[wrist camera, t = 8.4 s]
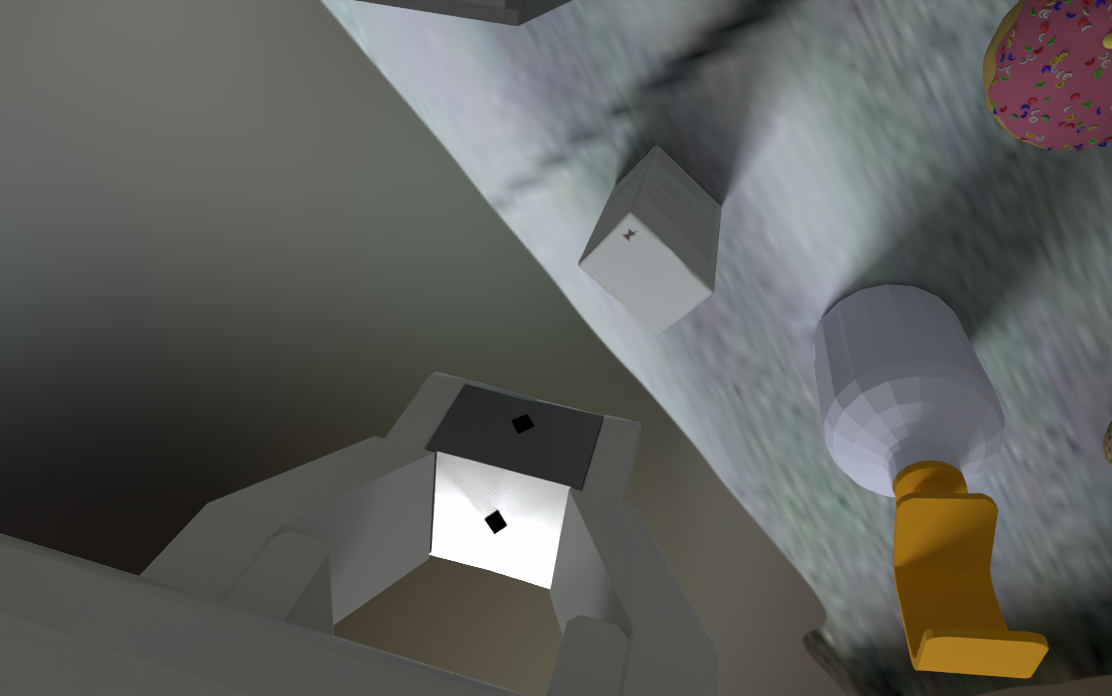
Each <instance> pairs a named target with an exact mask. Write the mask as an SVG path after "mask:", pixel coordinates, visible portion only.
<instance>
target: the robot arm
mask: <svg viewBox="0 0 1112 696" xmlns="http://www.w3.org/2000/svg"><path fill="white" fill-rule="evenodd" d="M640 430H641V426H640V423H639V422H635V421H630V420H626V419H621V418H617V417H612V416H608V415H605V417H604V416H602V415H598V414H594V413H590V412H586V411H582V410H578V409H574V408H569V407H566V406H561V405H557V404H554V403H550V402H545V401H541V400H537V399H536V398H532V397H528V396H525V395H521V394H517V393H514V392H510V391H507V390H503V389H499V388H496V387H492V386H488V385H485V384H481V383H477V382H474V381H468V380H466V379H462V378H458V377H454V376H450V375H446V374H442V373H438V372H436V373H434V374H432V375H430V376H429V377H428V378H427V380H426V381H425V383H424V384H423V386H422V387H421V388H420V390H419V391H418V393H417V394H416V395H415V397H414V398H413V400H412V401H411V402H410V404H409V405H408V407H407V408H406V409H405V411H404V412H403V414H402V415H401V416H400V418H399V419H398V421H397V422H396V424H395V425H394V426H393V428H392V429H391V430H390V432H389V433H388V435H387V436H386V438H385V439H383V438H379V437H375V436H374V437H372V438H369V439H367V440H364V441H362V442H359V443H357V444H354V445H352V446H350V447H347V448H344V449H342V450H339V451H337V452H334V453H332V454H329V455H327V456H325V457H322V458H319V459H317V460H314V461H312V462H310V463H307V464H305V465H302V466H300V467H297V468H295V469H292V470H290V471H287V472H285V473H282V474H280V475H277V476H275V477H273V478H270V479H267V480H265V481H262V482H260V483H258V484H255V485H252V486H250V487H247V488H245V489H242V490H240V491H238V492H235V493H232V494H230V495H228V496H225V497H223V498H220V499H218V500H215V501H213V502H210V503H208V504H207V505H206V506H205V507H204V508H203V509H202V510H201V511H200V512H199V513H198V514H197V515H196V516H195V517H194V519H193V520H192V521H191V522H190V523H189V524H188V525H187V526H186V527H185V528H184V529H183V530H182V531H181V532H180V533H179V534H178V535H177V537H176V538H175V539H174V540H173V541H172V542H171V543H170V544H169V545H168V546H167V547H166V548H165V549H164V550H163V552H162V553H161V554H160V555H159V556H158V557H157V558H156V559H155V560H154V561H153V562H152V563H151V564H150V565H149V566H148V568H146V570H145V571H144V572H143V573H142V574H141V575H140V576H136V575H133V574H130V573H127V572H123V571H120V570H117V569H114V568H110V567H107V566H104V565H101V564H97V563H94V562H90V561H87V560H84V559H81V558H78V557H74V556H71V555H68V554H65V553H61V552H58V551H54V550H51V549H48V548H45V547H41V546H38V545H35V544H32V543H29V542H25V541H22V540H19V539H16V538H12V537H9V536H6V535H3V534H0V696H528V695H525V694H522V693H518V692H515V691H512V690H508V689H505V688H502V687H499V686H495V685H492V684H489V683H486V682H483V681H479V680H476V679H472V678H469V677H466V676H463V675H460V674H456V673H453V672H450V671H447V670H443V669H440V668H437V667H433V666H430V665H427V664H424V663H420V662H417V661H414V660H410V659H407V658H404V657H401V656H397V655H394V654H391V653H388V652H385V651H381V650H378V649H375V648H372V647H368V646H365V645H362V644H359V643H355V642H352V641H349V640H345V639H342V638H339V637H336V636H334V633H333V625H334V624H336V623H337V622H339V621H340V620H342V619H343V618H344V617H346V616H347V615H349V614H350V613H352V612H353V611H354V610H356V609H357V608H359V607H360V606H362V605H363V604H364V603H366V602H367V601H369V600H370V599H371V598H373V597H374V596H376V595H377V594H379V593H380V592H382V591H383V590H384V589H386V588H387V587H389V586H390V585H392V584H393V583H394V582H396V581H397V580H399V579H400V578H401V577H403V576H404V575H406V574H407V573H408V572H410V571H411V570H413V569H414V568H416V567H417V566H419V565H420V564H421V563H423V562H424V561H425V560H427V559H429V554H430V555H434V556H438V557H442V558H446V559H450V560H454V561H458V562H462V563H465V564H469V565H473V566H477V567H481V568H485V569H489V570H492V571H495V572H498V573H502V574H505V575H508V576H511V577H514V578H517V579H521V580H524V581H527V582H530V583H533V584H537V585H540V586H543V587H546V588H549V589H550V595H551V598H552V602H553V605H554V608H555V612H556V614H557V618H558V621H559V625H560V628H561V631H562V635H563V639H562V642H561V645H560V650H559V653H558V656H557V660H556V664H555V667H554V671H553V674H552V678H551V681H550V684H549V688H548V692H547V695H546V696H717V677H718V656H719V652H718V650H717V648H716V647H715V645H714V643H713V641H712V640H711V638H710V636H709V634H708V632H707V631H706V629H705V627H704V625H703V624H702V622H701V620H700V618H699V617H698V615H697V613H696V611H695V610H694V608H693V606H692V604H691V603H690V601H689V599H688V597H687V596H686V594H685V592H684V590H683V588H682V587H681V585H680V583H679V581H678V580H677V578H676V576H675V574H674V573H673V571H672V569H671V567H670V566H669V564H668V562H667V560H666V559H665V557H664V555H663V553H662V552H661V550H660V548H659V546H658V545H657V543H656V541H655V539H654V538H653V536H652V534H651V532H650V531H649V529H648V527H647V525H646V523H645V522H644V520H643V518H642V516H641V515H640V513H639V511H638V510H637V508H636V506H634V505H631V504H628V503H625V499H626V494H627V490H628V485H629V480H630V476H631V471H632V467H633V462H634V457H635V453H636V447H637V443H638V439H639V434H640Z"/></svg>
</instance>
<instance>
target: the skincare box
mask: <svg viewBox="0 0 1112 696" xmlns="http://www.w3.org/2000/svg"><path fill="white" fill-rule="evenodd" d="M720 220H721V206H720V205H719V204H718V203H717V202H716V201H715V200H714V199H713V198H712V197H711V196H710V195H709V194H708V193H707V192H706V191H705V190H704V189H703V188H702V187H701V186H700V185H699V184H697V183H696V182H695V181H694V180H693V179H692V178H691V177H690V176H689V175H688V174H687V173H686V172H685V171H684V170H683V169H682V168H681V167H680V166H679V165H678V164H677V163H676V162H675V161H674V160H673V159H672V158H671V157H670V156H669V155H668V154H667V153H666V152H665V151H664V150H663V149H661V147H660V146H658V145H655V146H654V147H653V148H652V149H651V150H650V151H649V152H648V153H647V154H646V155H645V156H644V157H643V158H642V159H641V160H640V161H639V162H638V163H637V164H636V165H635V166H634V167H633V169H632V170H631V171H630V172H629V173H628V174H627V175H626V176H625V177H624V178H623V179H622V180H621V181H620V182H619V183H618V184H617V185H616V186H615V187H614V188H613V190H612V192H611V194H610V197H609V199H608V201H607V203H606V205H605V207H604V209H603V211H602V213H601V216H600V218H599V220H598V222H597V224H596V226H595V229H594V231H593V233H592V235H591V237H590V239H589V241H588V243H587V246H586V248H585V250H584V252H583V254H582V256H581V258H580V261H579V263H578V266H579V267H580V268H581V269H582V270H583V271H584V272H585V273H586V274H588V275H589V276H590V277H591V278H592V279H593V280H594V281H595V282H597V283H598V284H599V285H600V286H601V287H602V288H603V289H604V290H606V291H607V292H608V293H609V294H610V295H611V296H612V297H614V298H615V299H616V300H617V301H618V302H619V303H621V304H622V305H623V306H624V307H625V308H626V309H627V310H629V311H630V312H631V313H632V314H633V315H634V316H635V317H637V318H638V319H639V320H640V321H641V322H642V323H643V324H644V325H646V326H647V327H648V328H649V329H650V330H651V331H652V332H653V333H654V334H655V335H656V336H660V335H661V334H662V333H663V332H665V331H666V330H667V329H668V328H670V327H671V326H672V325H673V324H675V323H676V322H677V321H679V320H680V319H681V318H682V317H684V316H685V315H686V314H687V313H689V312H690V311H691V310H692V309H694V308H695V307H696V306H698V305H699V304H700V303H701V302H703V301H704V300H705V299H706V298H708V297H709V296H710V295H711V294H713V293H714V285H715V272H716V261H717V251H718V240H719V230H720Z"/></svg>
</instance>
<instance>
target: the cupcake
mask: <svg viewBox="0 0 1112 696" xmlns="http://www.w3.org/2000/svg"><path fill="white" fill-rule="evenodd" d="M983 80H984V87H985V102H986V106H987V108H988V110H989V111H990V113H991V114H992V115H993V116H994V117H995V119H996V120H997V121H998V123H999V124H1000V125H1001V126H1002V127H1003V128H1004V129H1005V131H1007V132H1008V133H1009V134H1010V135H1011V136H1013V137H1014V138H1016V139H1019V140H1021V141H1024V142H1026V143H1029V144H1032V145H1034V146H1037V147H1040V148H1044V149H1047V150H1068V151H1070V150H1081V149H1085V148H1090V147H1094V146H1097V145H1098V146H1100V147H1104V146H1106V144H1107V142H1110V141H1112V0H1021V1H1020V2H1019V3H1018V4H1016V5H1015V6H1014V7H1013V8H1012V9H1011V10H1010V11H1009V12H1008V13H1007V14H1006V16H1005V17H1004V18H1003V20H1002V21H1001V23H1000V25H999V27H998V29H997V31H996V33H995V35H994V37H993V39H992V41H991V42H990V44H989V46H988V48H987V51H986V53H985V57H984V63H983ZM1103 143H1104V145H1102V144H1103ZM1100 144H1101V145H1100Z"/></svg>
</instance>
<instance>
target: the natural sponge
mask: <svg viewBox="0 0 1112 696" xmlns="http://www.w3.org/2000/svg"><path fill="white" fill-rule="evenodd" d="M1103 451H1104V454H1105V457H1106V459H1107V460H1108V462H1109V464H1110V465H1111V466H1112V421H1111V423H1110V425H1109V426H1108V429H1107V431H1106V434H1105V436H1104V439H1103Z"/></svg>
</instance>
